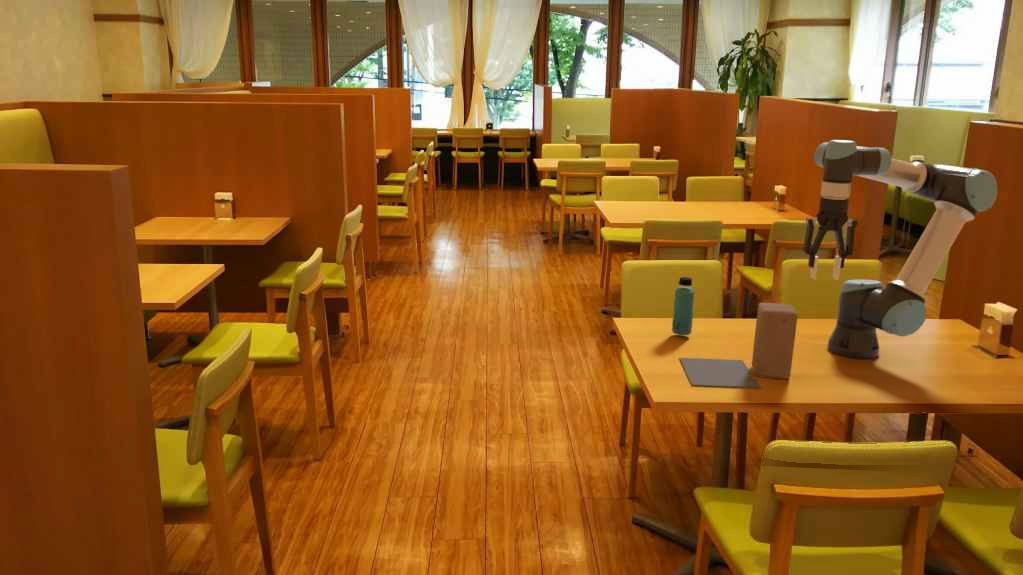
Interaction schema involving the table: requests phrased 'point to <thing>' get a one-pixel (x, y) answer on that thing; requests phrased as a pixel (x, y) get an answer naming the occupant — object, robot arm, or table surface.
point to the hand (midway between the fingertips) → (824, 278)
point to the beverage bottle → (683, 308)
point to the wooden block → (774, 340)
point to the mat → (718, 373)
